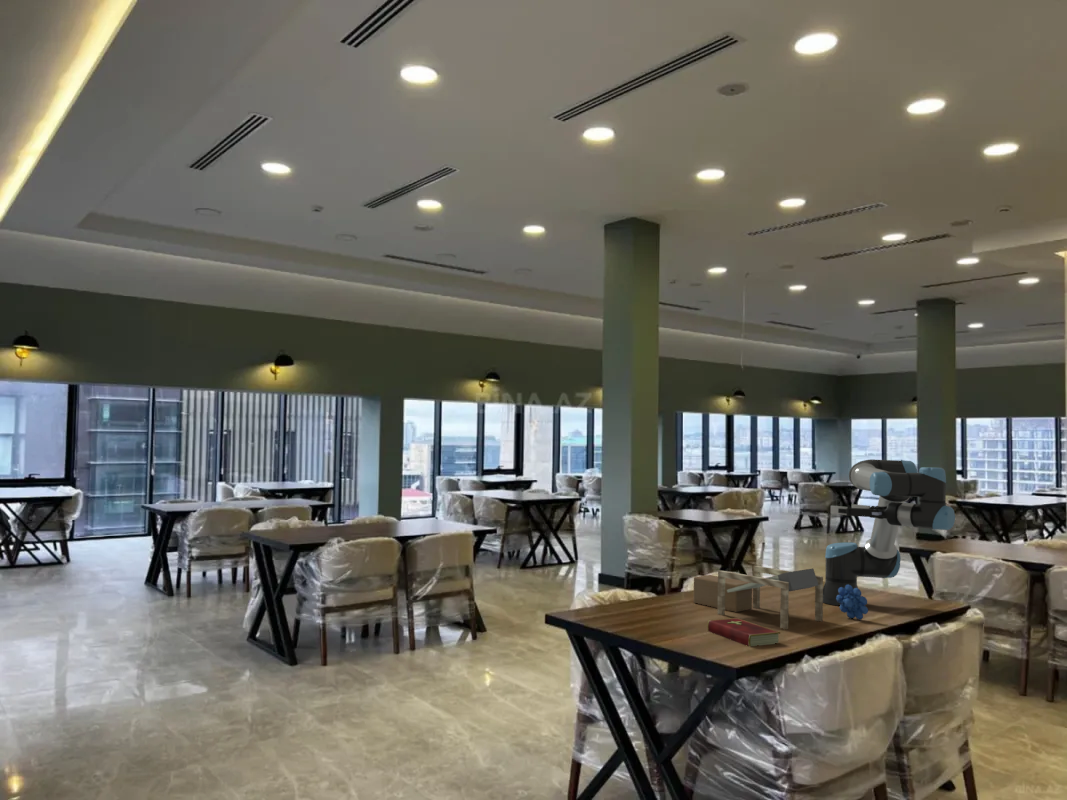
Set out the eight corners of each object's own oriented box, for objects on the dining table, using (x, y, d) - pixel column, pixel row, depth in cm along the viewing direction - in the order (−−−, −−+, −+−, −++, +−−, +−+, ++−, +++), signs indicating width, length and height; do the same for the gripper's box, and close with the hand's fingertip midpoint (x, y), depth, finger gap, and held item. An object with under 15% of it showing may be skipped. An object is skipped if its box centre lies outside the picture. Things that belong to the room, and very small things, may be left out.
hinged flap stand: (822, 621, 285) (823, 576, 286) (785, 629, 271) (785, 582, 271) (755, 607, 307) (755, 565, 307) (717, 614, 292) (718, 570, 293)
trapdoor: (821, 584, 284) (815, 567, 286) (790, 590, 272) (784, 572, 274) (761, 600, 302) (757, 584, 304) (730, 606, 290) (725, 589, 292)
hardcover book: (749, 648, 247) (749, 634, 247) (707, 632, 266) (707, 619, 266) (780, 645, 252) (780, 631, 252) (736, 629, 271) (737, 617, 271)
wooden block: (752, 582, 303) (709, 574, 318) (736, 584, 296) (693, 576, 312) (752, 609, 302) (709, 600, 317) (736, 612, 296) (692, 603, 311)
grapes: (830, 617, 291) (830, 583, 292) (839, 615, 296) (839, 581, 296) (862, 623, 283) (862, 588, 283) (870, 620, 287) (870, 586, 288)
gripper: (883, 527, 256) (822, 521, 272) (920, 524, 271) (860, 518, 288) (883, 504, 256) (822, 499, 272) (920, 501, 272) (860, 497, 288)
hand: (841, 508), depth 280 cm, fingers open, 13 cm apart
